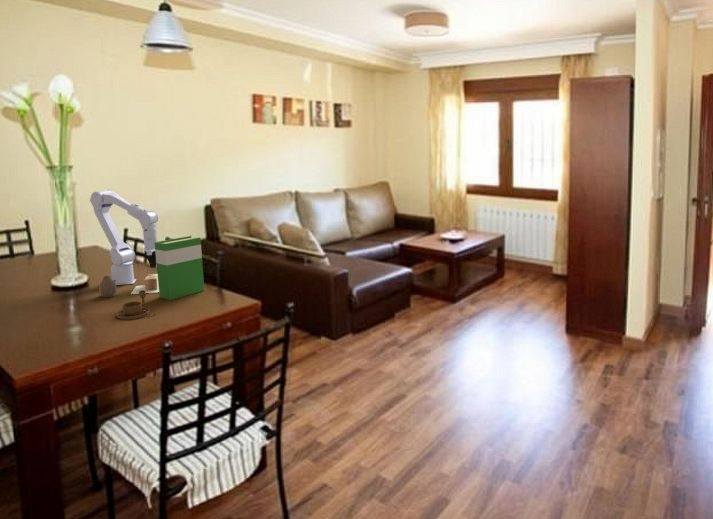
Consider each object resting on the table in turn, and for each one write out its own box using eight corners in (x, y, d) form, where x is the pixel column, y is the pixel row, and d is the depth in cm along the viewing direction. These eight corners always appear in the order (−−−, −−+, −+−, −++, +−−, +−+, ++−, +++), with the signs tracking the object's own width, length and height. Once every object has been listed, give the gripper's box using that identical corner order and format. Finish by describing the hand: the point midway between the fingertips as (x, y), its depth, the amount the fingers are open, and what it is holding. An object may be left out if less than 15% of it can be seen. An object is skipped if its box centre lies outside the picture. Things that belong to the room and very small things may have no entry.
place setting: (103, 318, 210) (101, 303, 209) (142, 303, 228) (141, 289, 226) (138, 323, 203) (137, 308, 202) (175, 308, 221) (174, 294, 220)
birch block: (149, 284, 253) (145, 290, 243) (147, 274, 252) (144, 279, 242) (160, 284, 254) (157, 289, 244) (159, 273, 253) (156, 278, 243)
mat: (130, 294, 238) (130, 293, 238) (136, 286, 251) (136, 285, 251) (169, 292, 242) (169, 291, 242) (172, 284, 254) (172, 283, 254)
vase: (121, 294, 239) (118, 275, 237) (109, 299, 232) (106, 279, 230) (108, 293, 241) (106, 274, 239) (96, 297, 235) (93, 277, 233)
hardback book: (194, 288, 248) (190, 235, 243) (204, 290, 244) (200, 237, 238) (159, 297, 234) (154, 242, 229) (169, 300, 230) (164, 244, 225)
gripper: (157, 240, 243) (160, 270, 246) (161, 235, 256) (164, 263, 259) (140, 241, 241) (143, 271, 244) (145, 235, 255) (148, 264, 258)
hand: (153, 267), depth 252 cm, fingers closed
